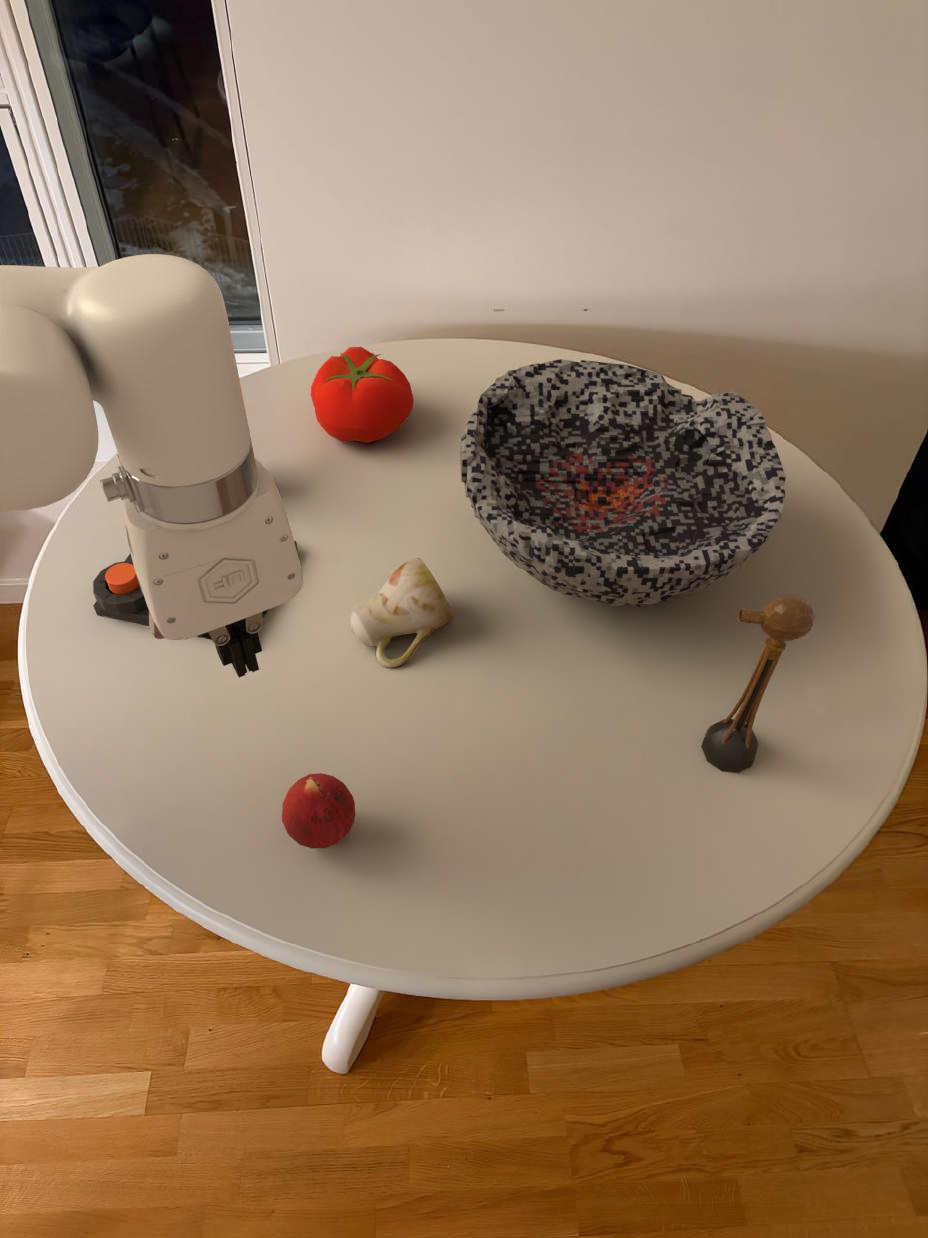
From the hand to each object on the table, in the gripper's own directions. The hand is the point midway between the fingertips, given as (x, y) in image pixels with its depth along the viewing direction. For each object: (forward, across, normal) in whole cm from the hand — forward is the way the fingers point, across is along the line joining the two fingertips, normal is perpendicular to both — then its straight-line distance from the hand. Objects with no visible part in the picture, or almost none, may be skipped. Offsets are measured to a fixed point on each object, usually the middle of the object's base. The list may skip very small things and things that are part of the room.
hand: (242, 660), depth 68 cm
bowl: (+15, +41, +8) cm, 45 cm away
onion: (+15, +2, -8) cm, 17 cm away
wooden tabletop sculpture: (+15, +36, -18) cm, 43 cm away
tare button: (+12, -5, +25) cm, 28 cm away
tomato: (+15, +28, +40) cm, 52 cm away
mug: (+15, +17, +8) cm, 24 cm away
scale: (+15, +2, +24) cm, 29 cm away
